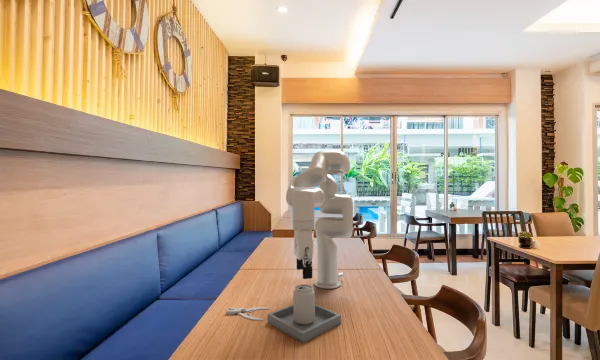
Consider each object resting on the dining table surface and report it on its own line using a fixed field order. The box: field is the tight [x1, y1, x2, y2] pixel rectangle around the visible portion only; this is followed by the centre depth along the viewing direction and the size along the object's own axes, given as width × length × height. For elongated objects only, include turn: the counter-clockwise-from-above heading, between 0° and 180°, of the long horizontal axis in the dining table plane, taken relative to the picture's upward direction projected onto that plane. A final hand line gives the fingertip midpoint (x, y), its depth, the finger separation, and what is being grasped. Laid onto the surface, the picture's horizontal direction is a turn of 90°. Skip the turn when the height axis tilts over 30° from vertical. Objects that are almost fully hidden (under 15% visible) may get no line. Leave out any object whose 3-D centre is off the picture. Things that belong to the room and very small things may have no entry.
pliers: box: [225, 306, 270, 321], centre depth 114 cm, size 10×2×15 cm
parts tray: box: [267, 303, 342, 344], centre depth 106 cm, size 18×18×3 cm
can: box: [292, 283, 316, 325], centre depth 106 cm, size 8×8×12 cm
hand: (304, 273), depth 106 cm, fingers open, 9 cm apart
